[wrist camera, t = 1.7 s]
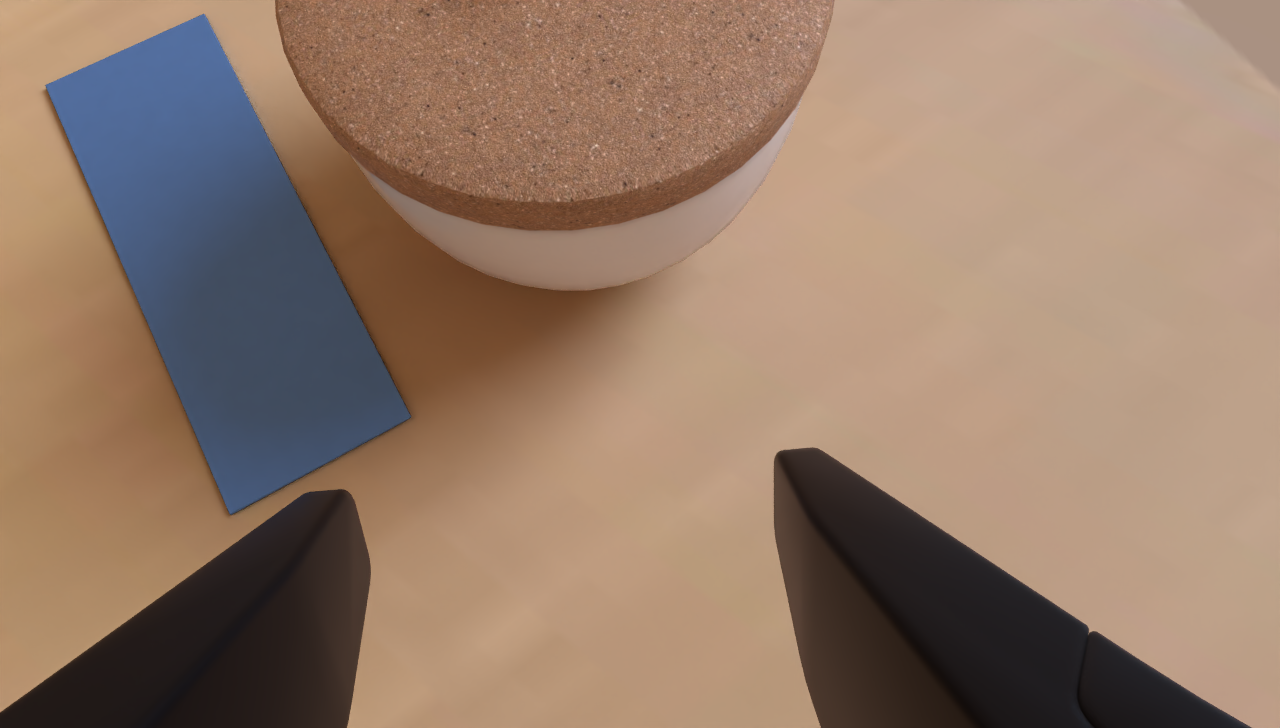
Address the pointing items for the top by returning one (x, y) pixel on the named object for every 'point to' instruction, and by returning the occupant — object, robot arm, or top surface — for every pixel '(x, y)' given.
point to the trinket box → (559, 120)
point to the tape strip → (225, 263)
